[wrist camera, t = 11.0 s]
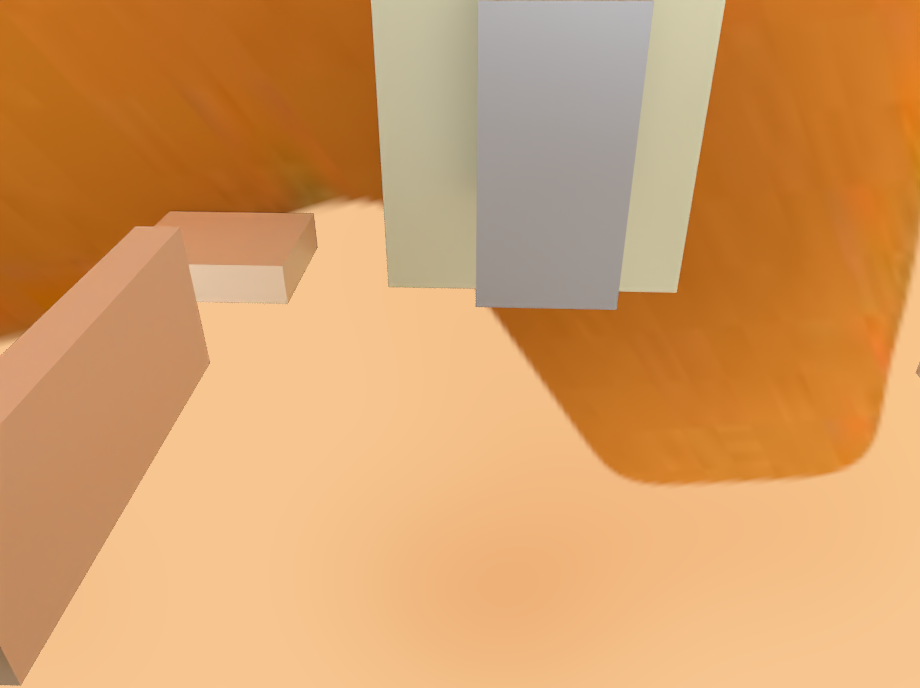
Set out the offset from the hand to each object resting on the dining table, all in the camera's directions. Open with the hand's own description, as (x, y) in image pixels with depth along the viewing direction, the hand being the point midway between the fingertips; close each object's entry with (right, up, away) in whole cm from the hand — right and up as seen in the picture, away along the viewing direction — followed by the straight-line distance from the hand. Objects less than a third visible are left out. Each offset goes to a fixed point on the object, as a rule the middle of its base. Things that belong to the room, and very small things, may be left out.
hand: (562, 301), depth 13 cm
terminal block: (+1, +8, +14) cm, 16 cm away
